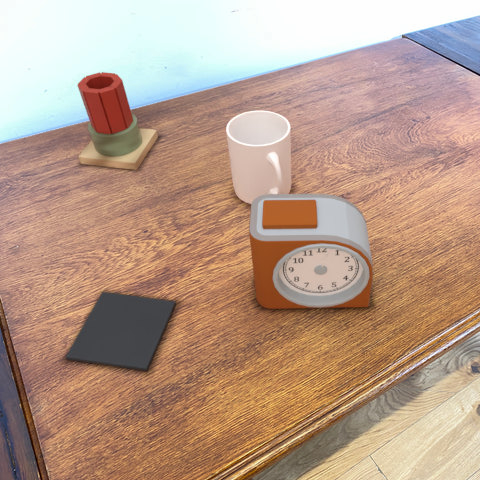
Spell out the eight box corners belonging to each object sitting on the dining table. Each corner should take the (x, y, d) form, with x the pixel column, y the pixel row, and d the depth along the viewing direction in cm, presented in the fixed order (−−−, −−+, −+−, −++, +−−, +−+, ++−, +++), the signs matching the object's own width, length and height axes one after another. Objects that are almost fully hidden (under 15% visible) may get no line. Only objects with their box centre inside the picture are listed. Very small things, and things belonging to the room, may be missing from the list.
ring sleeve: (85, 131, 85) (71, 90, 79) (102, 111, 89) (89, 70, 84) (122, 135, 84) (110, 94, 79) (138, 114, 88) (127, 74, 83)
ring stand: (80, 163, 87) (58, 106, 79) (106, 131, 94) (88, 75, 86) (137, 170, 86) (120, 113, 79) (158, 136, 93) (145, 81, 86)
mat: (66, 359, 61) (65, 357, 61) (103, 294, 68) (102, 291, 68) (147, 371, 60) (146, 368, 60) (176, 304, 67) (175, 301, 67)
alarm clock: (255, 311, 66) (246, 238, 57) (258, 262, 72) (251, 189, 63) (368, 309, 67) (379, 236, 57) (362, 260, 73) (371, 187, 63)
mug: (267, 163, 88) (263, 103, 80) (314, 197, 82) (315, 136, 74) (222, 187, 84) (213, 125, 75) (268, 225, 78) (264, 163, 69)
